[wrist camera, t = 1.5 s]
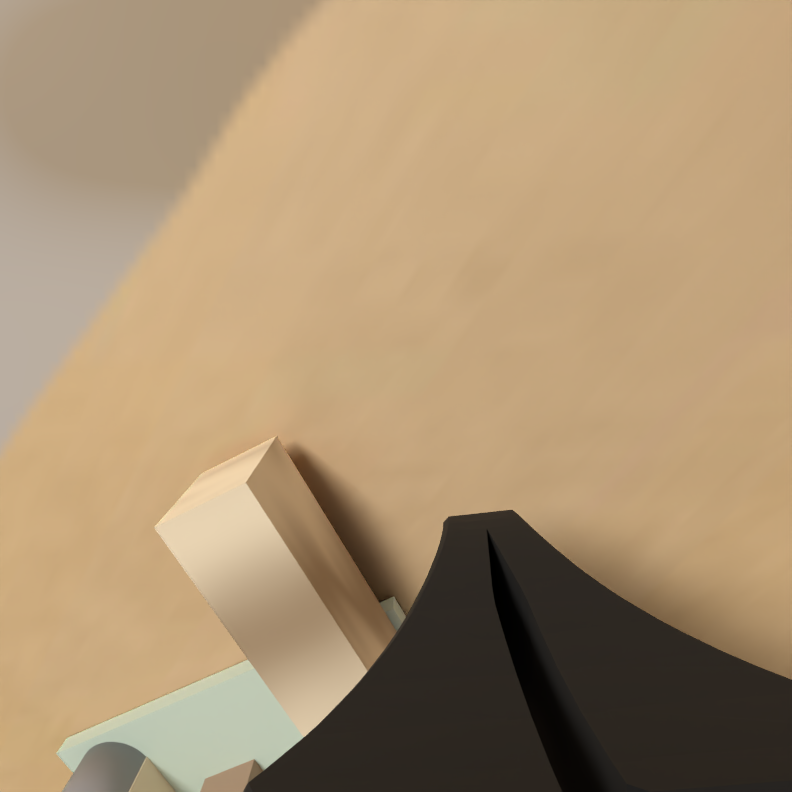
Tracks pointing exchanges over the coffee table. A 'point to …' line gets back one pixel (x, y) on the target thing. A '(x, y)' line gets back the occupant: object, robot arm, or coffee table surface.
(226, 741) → the hinged beam frame
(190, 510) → the beige long rectangular block
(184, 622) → the coffee table surface
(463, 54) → the coffee table surface
